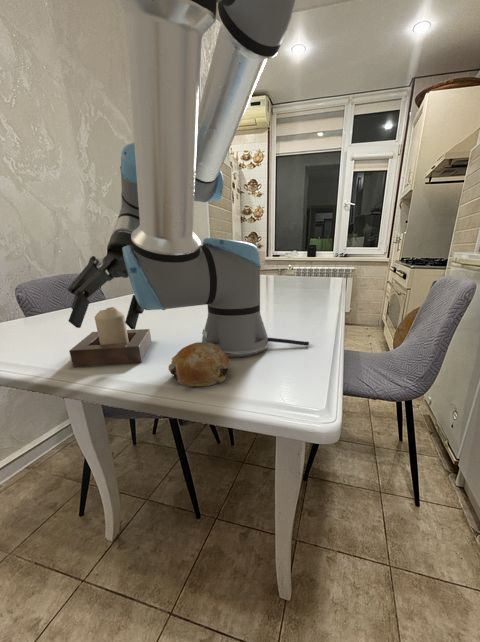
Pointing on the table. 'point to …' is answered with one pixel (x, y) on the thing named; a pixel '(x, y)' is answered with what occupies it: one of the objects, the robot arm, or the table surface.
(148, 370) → the table surface
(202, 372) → the bread roll
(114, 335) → the candle
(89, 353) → the candle block
